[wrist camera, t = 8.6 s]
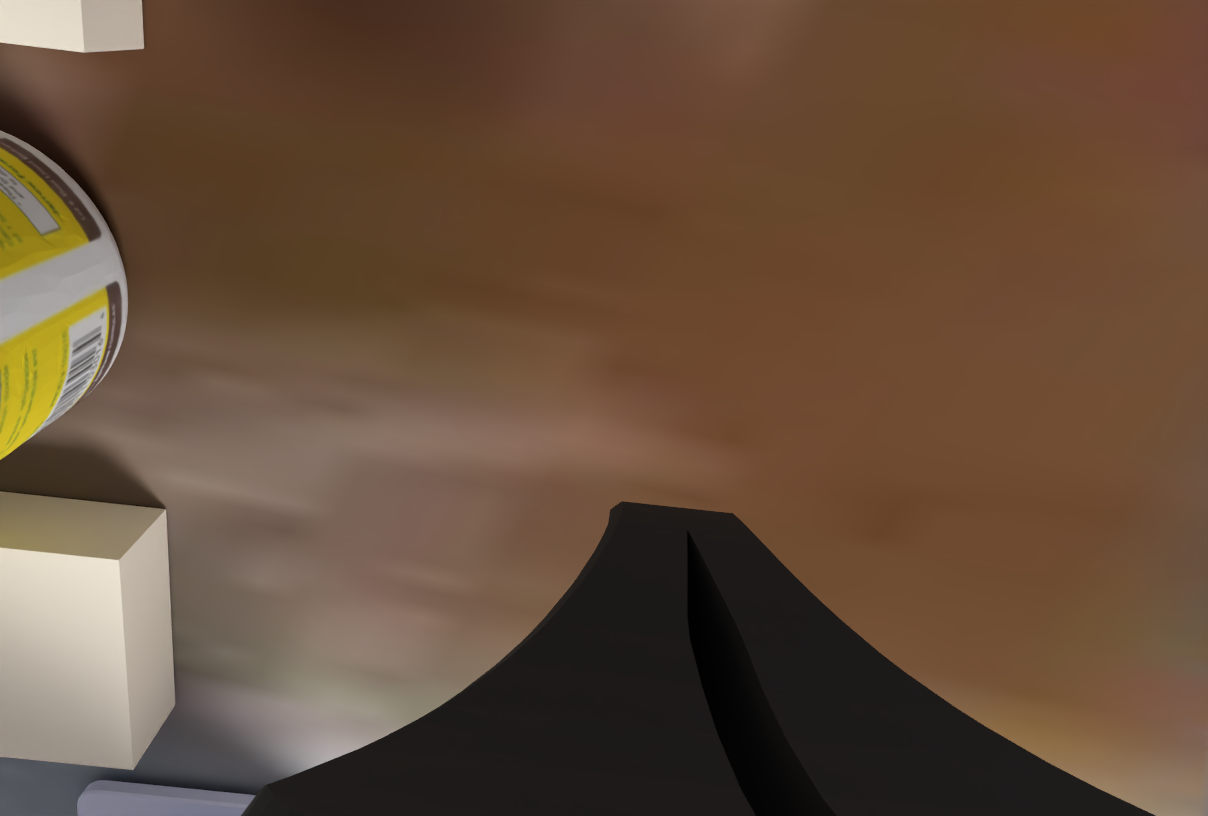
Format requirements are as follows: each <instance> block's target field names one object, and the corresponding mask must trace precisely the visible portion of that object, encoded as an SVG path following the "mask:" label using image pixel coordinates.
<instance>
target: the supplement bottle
mask: <svg viewBox="0 0 1208 816" xmlns="http://www.w3.org/2000/svg"><path fill="white" fill-rule="evenodd" d="M127 312H128V292H127V282H126V276H125V271H124V266H123V263H122V260H121V257H120V253H119V250H118V247H117V244H116V242H115V240H114V237H113V235H112V233H111V231H110V229H109V227H108V225H107V223H106V222H105V220H104V218H103V217H102V215H101V214H100V212H99V211H98V209H97V208H96V206H95V205H94V203H93V202H92V201H91V199H90V198H89V197H88V195H87V194H86V193H85V192H84V191H83V190H82V188H81V187H80V186H79V185H78V184H77V183H76V182H75V181H74V180H73V179H72V178H71V177H70V176H69V175H68V174H67V173H66V172H65V171H64V170H63V169H62V168H61V167H59V166H58V165H57V164H56V163H55V162H53V161H52V160H51V159H49V158H48V157H47V156H46V155H44V154H43V153H42V152H40V151H38V150H37V149H35V148H34V147H32V146H31V145H29V144H28V143H26V142H24V141H22V140H20V139H18V138H16V137H14V136H12V135H10V134H7V133H5V132H3V131H1V130H0V460H1V459H2V458H4V457H5V456H7V455H8V454H9V453H11V452H12V451H13V450H15V449H16V448H17V447H19V446H20V445H21V444H23V443H24V442H25V441H27V440H28V439H30V438H31V437H33V436H34V435H35V434H37V433H38V432H39V431H41V430H42V429H43V428H45V427H46V426H48V425H49V424H50V423H52V422H53V421H54V420H56V419H57V418H58V417H60V416H61V415H63V414H65V413H67V412H68V411H69V410H70V409H71V408H73V407H74V406H75V405H76V404H78V403H79V402H80V401H81V400H82V399H83V398H85V397H86V396H87V395H88V394H89V393H90V392H91V391H92V390H93V389H94V388H95V387H96V386H97V385H98V384H99V383H100V381H101V380H102V379H103V378H104V376H105V375H106V374H107V372H108V370H109V369H110V367H111V366H112V364H113V362H114V360H115V358H116V356H117V354H118V352H119V349H120V346H121V343H122V340H123V337H124V332H125V328H126V321H127Z"/></svg>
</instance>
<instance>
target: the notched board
mask: <svg viewBox="0 0 1208 816" xmlns="http://www.w3.org/2000/svg"><path fill="white" fill-rule="evenodd" d="M0 42H2V43H10V44H18V45H27V46H35V47H43V48H51V49H60V50H68V51H76V52H100V51H116V50H133V49H144V38H143V17H142V0H0ZM174 706H175V686H174V665H173V645H172V624H171V603H170V582H169V561H168V540H167V519H166V509H159V508H150V507H140V506H131V505H122V504H113V503H103V502H94V501H85V500H75V499H66V498H57V497H48V496H38V495H29V494H20V493H11V492H1V491H0V757H8V758H18V759H28V760H38V761H48V762H58V763H68V764H78V765H88V766H98V767H108V768H118V769H128V770H134V768H135V767H136V765H137V763H138V762H139V760H140V759H141V757H142V756H143V754H144V753H145V751H146V750H147V748H148V746H149V745H150V743H151V742H152V740H153V739H154V737H155V736H156V734H157V733H158V731H159V729H160V728H161V726H162V725H163V723H164V722H165V720H166V719H167V717H168V715H169V714H170V712H171V711H172V709H173V708H174Z"/></svg>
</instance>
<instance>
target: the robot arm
mask: <svg viewBox="0 0 1208 816" xmlns="http://www.w3.org/2000/svg"><path fill="white" fill-rule="evenodd" d="M77 813H78V816H1155V815H1153V814H1151V813H1149V812H1147V811H1144V810H1142V809H1140V808H1138V807H1136V806H1134V805H1132V804H1130V803H1127V802H1125V801H1123V800H1121V799H1119V798H1117V797H1115V796H1113V795H1110V794H1108V793H1106V792H1104V791H1102V790H1100V789H1098V788H1096V787H1094V786H1092V785H1090V784H1088V783H1086V782H1084V781H1082V780H1080V779H1078V778H1076V777H1074V776H1073V775H1071V774H1069V773H1067V772H1065V771H1063V770H1061V769H1059V768H1057V767H1055V766H1053V765H1051V764H1050V763H1048V762H1046V761H1044V760H1042V759H1041V758H1039V757H1037V756H1035V755H1034V754H1032V753H1030V752H1029V751H1027V750H1025V749H1023V748H1022V747H1020V746H1018V745H1016V744H1015V743H1013V742H1011V741H1009V740H1008V739H1006V738H1004V737H1003V736H1001V735H999V734H997V733H996V732H994V731H992V730H990V729H989V728H987V727H985V726H984V725H982V724H981V723H979V722H977V721H976V720H974V719H973V718H971V717H969V716H968V715H966V714H965V713H963V712H962V711H960V710H958V709H957V708H955V707H954V706H952V705H951V704H949V703H948V702H947V701H945V700H944V699H942V698H941V697H940V696H938V695H937V694H935V693H934V692H932V691H931V690H930V689H928V688H927V687H925V686H924V685H922V684H921V683H920V682H918V681H917V680H915V679H914V678H912V677H911V676H910V675H908V674H907V673H905V672H904V671H903V670H901V669H900V668H899V667H897V666H896V665H895V664H893V663H892V662H891V661H890V660H888V659H887V658H886V657H884V656H883V655H882V654H881V653H879V652H878V651H877V650H876V649H875V648H873V647H872V646H871V645H870V644H869V643H867V642H866V641H865V640H864V639H863V638H862V637H860V636H859V635H858V634H857V633H856V632H854V631H853V630H852V629H851V628H850V627H849V626H847V625H846V624H845V623H844V622H843V621H842V620H840V619H839V618H838V617H837V616H836V615H835V614H834V613H833V612H832V611H831V610H829V609H828V608H827V607H826V606H825V605H824V604H823V603H822V602H821V601H820V600H819V599H818V598H817V597H816V596H814V595H813V594H812V593H811V592H810V591H809V590H808V589H807V588H806V587H805V586H804V585H803V584H802V583H801V582H800V581H799V580H798V579H797V578H796V577H795V576H794V575H793V574H792V573H791V572H790V571H789V570H788V569H787V568H786V567H785V566H784V565H783V564H782V563H781V562H780V561H779V560H778V559H777V558H776V557H775V556H774V554H773V553H772V552H771V551H770V550H769V549H768V548H767V547H766V546H765V545H764V544H763V543H762V542H761V541H760V540H759V539H758V538H757V537H756V536H755V535H754V534H753V533H752V532H751V531H750V529H749V528H748V527H747V526H746V525H745V524H744V523H743V522H742V521H741V520H739V519H738V518H737V517H736V516H735V515H734V514H733V513H724V512H714V511H705V510H696V509H687V508H677V507H668V506H659V505H650V504H641V503H631V502H621V503H619V504H618V505H616V506H615V507H614V508H612V509H611V510H610V516H609V523H608V526H607V528H606V530H605V533H604V535H603V537H602V539H601V540H600V542H599V544H598V546H597V548H596V550H595V551H594V553H593V554H592V556H591V558H590V559H589V561H588V562H587V564H586V565H585V567H584V568H583V570H582V571H581V573H580V574H579V576H578V577H577V579H576V580H575V581H574V583H573V584H572V585H571V587H570V588H569V589H568V590H567V592H566V593H565V594H564V595H563V596H562V598H561V599H560V600H559V601H558V602H557V604H556V605H555V606H554V607H553V608H552V610H551V611H550V612H549V613H548V614H547V616H546V617H545V618H544V619H543V620H542V621H541V622H540V623H539V624H538V626H537V627H536V628H535V629H534V630H533V631H532V632H531V633H530V634H529V635H528V636H527V637H526V638H525V639H524V640H523V641H522V642H521V643H520V644H519V645H517V646H516V647H515V648H514V649H513V650H512V651H511V652H510V653H509V654H508V655H506V656H505V657H504V658H503V659H502V660H501V661H500V662H499V663H497V664H496V665H495V666H494V667H492V668H491V669H490V670H489V671H487V672H486V673H485V674H483V675H482V676H481V677H480V678H478V679H477V680H476V681H474V682H473V683H472V684H471V685H469V686H468V687H467V688H465V689H464V690H463V691H462V692H460V693H459V694H457V695H456V696H454V697H453V698H451V699H450V700H449V701H447V702H446V703H444V704H443V705H441V706H440V707H438V708H437V709H435V710H433V711H431V712H430V713H428V714H426V715H425V716H423V717H421V718H419V719H418V720H416V721H414V722H412V723H410V724H408V725H406V726H404V727H403V728H401V729H399V730H397V731H395V732H393V733H391V734H389V735H387V736H385V737H383V738H381V739H379V740H377V741H375V742H373V743H371V744H369V745H366V746H364V747H362V748H360V749H358V750H355V751H353V752H350V753H348V754H345V755H343V756H340V757H338V758H335V759H333V760H330V761H328V762H325V763H323V764H320V765H318V766H315V767H313V768H310V769H308V770H305V771H303V772H300V773H298V774H296V775H293V776H291V777H288V778H285V779H282V780H279V781H277V782H274V783H271V784H268V785H266V786H265V787H263V788H262V789H261V790H260V791H259V792H258V794H257V795H248V794H238V793H228V792H218V791H208V790H198V789H188V788H178V787H168V786H158V785H148V784H138V783H128V782H118V781H108V780H100V781H95V782H92V783H90V784H89V785H88V786H87V787H86V788H85V790H84V791H83V793H82V794H81V795H80V797H79V798H78V802H77Z"/></svg>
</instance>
